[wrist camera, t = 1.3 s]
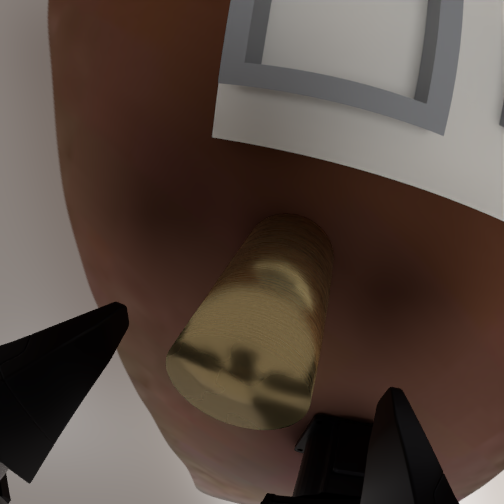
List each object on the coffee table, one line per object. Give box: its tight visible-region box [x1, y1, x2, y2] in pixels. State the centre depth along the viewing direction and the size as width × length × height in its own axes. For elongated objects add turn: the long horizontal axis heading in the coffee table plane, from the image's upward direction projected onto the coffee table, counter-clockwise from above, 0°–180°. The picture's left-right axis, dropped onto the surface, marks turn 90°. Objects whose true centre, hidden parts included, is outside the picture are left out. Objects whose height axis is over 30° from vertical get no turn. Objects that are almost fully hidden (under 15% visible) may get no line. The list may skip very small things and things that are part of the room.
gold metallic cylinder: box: [166, 214, 334, 430], centre depth 11 cm, size 4×4×8 cm
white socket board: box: [212, 0, 504, 221], centre depth 7 cm, size 12×18×3 cm, turn 82°
